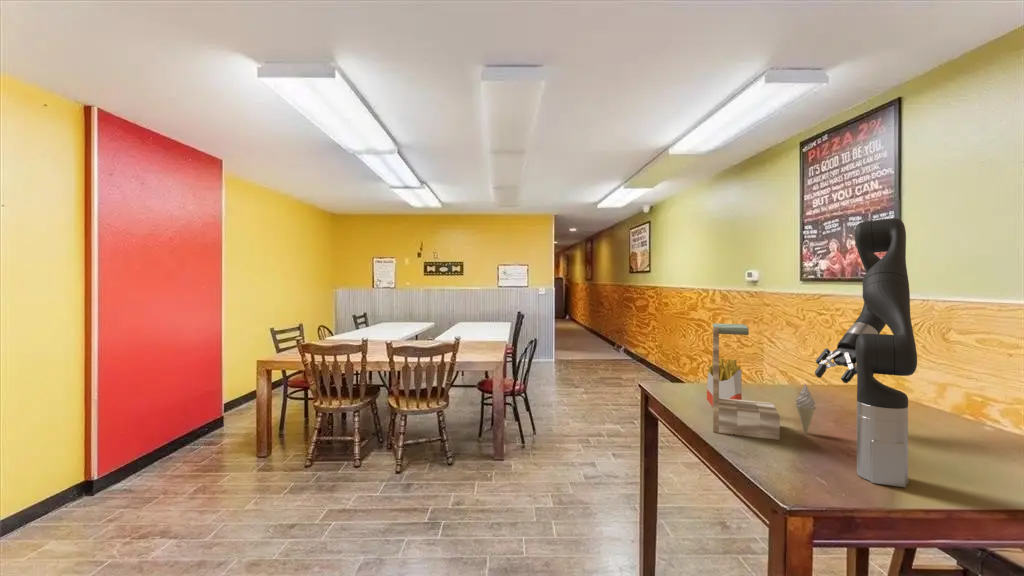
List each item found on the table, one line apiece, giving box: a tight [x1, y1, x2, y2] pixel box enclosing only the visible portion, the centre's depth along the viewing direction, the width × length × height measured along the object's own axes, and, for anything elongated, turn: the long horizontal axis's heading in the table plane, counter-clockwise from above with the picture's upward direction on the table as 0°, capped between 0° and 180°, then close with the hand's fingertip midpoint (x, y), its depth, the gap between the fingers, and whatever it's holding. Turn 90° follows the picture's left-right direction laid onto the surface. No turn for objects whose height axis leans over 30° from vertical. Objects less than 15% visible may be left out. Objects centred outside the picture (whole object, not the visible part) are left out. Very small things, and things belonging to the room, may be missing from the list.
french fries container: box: [706, 357, 743, 407], centre depth 166 cm, size 5×11×18 cm, turn 34°
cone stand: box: [712, 323, 781, 441], centre depth 143 cm, size 16×18×32 cm
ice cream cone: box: [795, 383, 816, 434], centre depth 138 cm, size 5×5×15 cm
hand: (830, 378), depth 140 cm, fingers open, 8 cm apart
